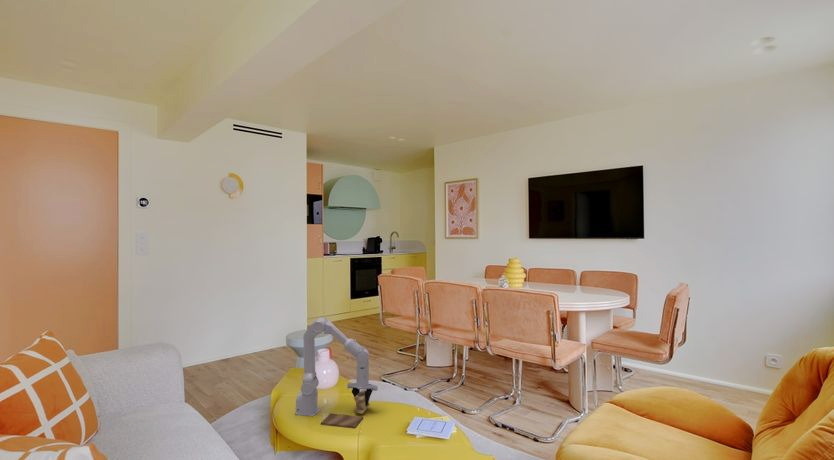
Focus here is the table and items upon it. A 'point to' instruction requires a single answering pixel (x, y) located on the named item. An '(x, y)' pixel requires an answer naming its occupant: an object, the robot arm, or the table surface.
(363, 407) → the oak stool
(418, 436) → the table surface
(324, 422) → the walnut board
